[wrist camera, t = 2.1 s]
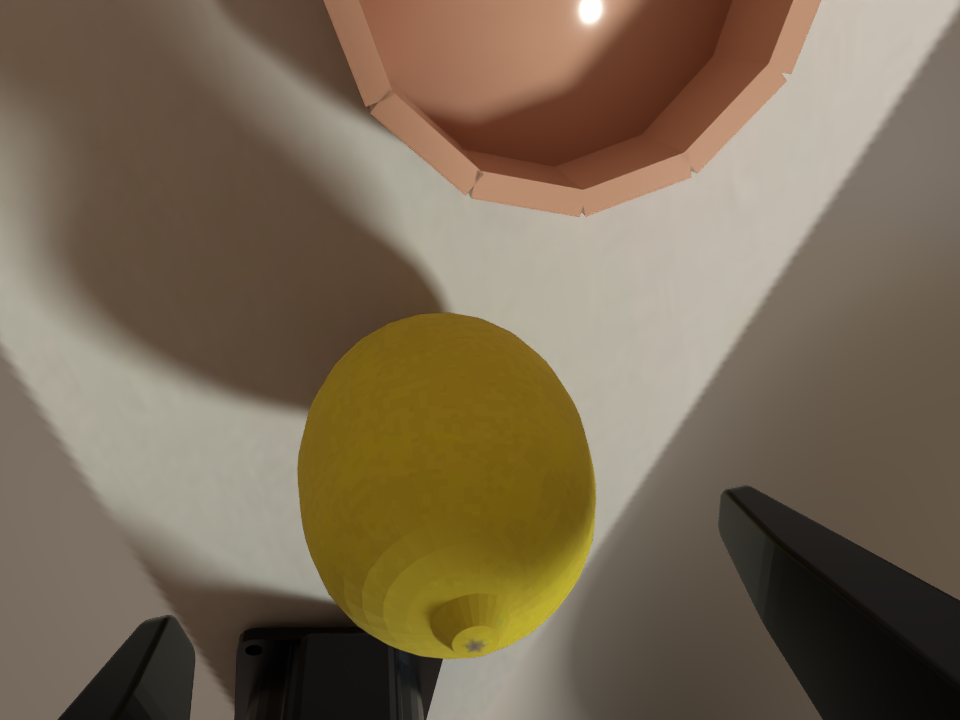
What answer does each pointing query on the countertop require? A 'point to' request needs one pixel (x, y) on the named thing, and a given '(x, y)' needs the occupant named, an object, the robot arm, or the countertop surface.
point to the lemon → (446, 486)
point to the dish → (568, 88)
